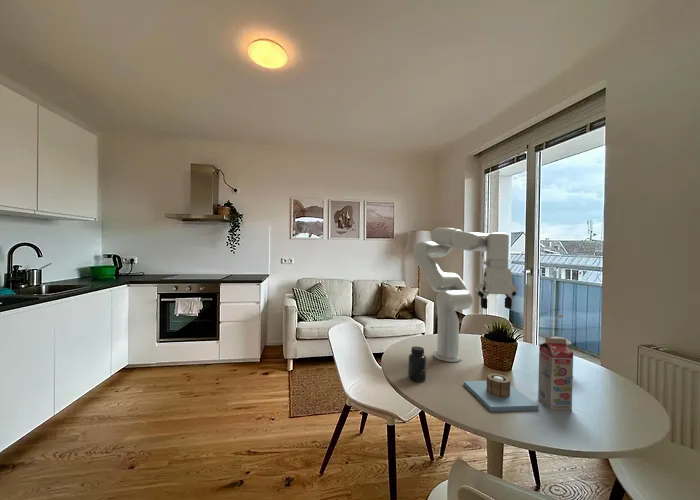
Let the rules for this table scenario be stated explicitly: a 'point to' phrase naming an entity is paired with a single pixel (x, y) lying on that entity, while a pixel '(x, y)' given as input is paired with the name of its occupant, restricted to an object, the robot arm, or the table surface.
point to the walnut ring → (498, 385)
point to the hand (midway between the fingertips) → (496, 308)
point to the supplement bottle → (417, 365)
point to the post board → (495, 403)
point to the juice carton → (555, 374)
